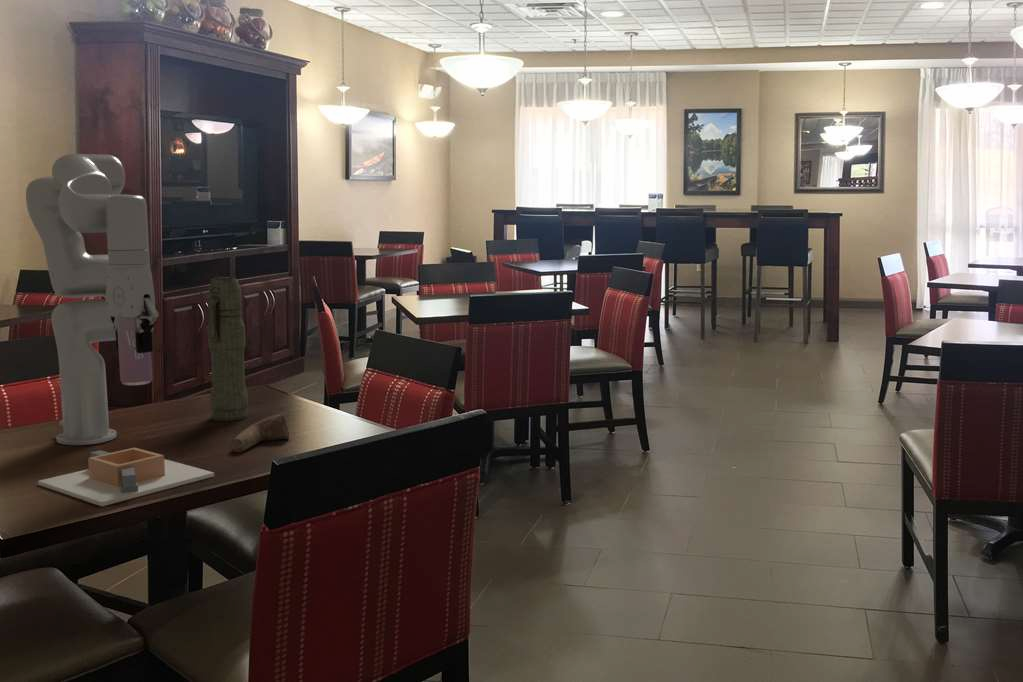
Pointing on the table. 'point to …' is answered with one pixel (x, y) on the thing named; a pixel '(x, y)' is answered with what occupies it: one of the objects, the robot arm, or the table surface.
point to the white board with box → (124, 476)
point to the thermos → (227, 350)
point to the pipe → (262, 432)
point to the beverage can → (132, 354)
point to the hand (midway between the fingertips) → (134, 350)
